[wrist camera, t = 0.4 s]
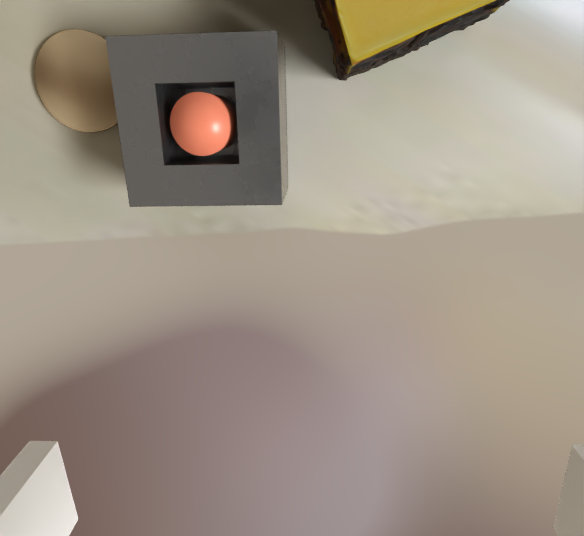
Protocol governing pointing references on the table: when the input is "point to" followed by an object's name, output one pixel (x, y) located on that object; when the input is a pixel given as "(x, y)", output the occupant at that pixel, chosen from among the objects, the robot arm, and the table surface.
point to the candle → (392, 27)
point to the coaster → (76, 80)
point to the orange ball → (204, 123)
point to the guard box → (209, 79)
